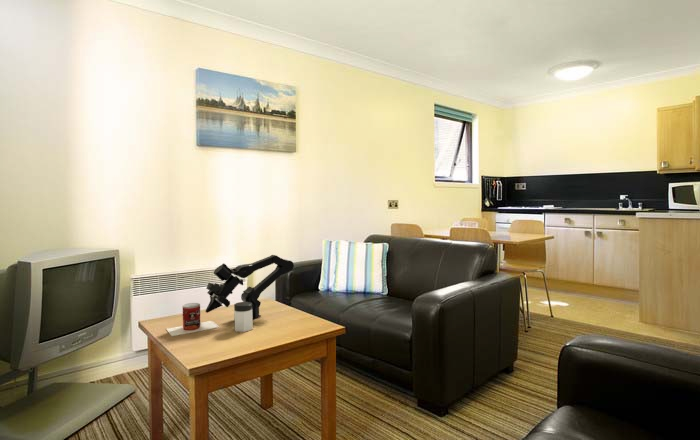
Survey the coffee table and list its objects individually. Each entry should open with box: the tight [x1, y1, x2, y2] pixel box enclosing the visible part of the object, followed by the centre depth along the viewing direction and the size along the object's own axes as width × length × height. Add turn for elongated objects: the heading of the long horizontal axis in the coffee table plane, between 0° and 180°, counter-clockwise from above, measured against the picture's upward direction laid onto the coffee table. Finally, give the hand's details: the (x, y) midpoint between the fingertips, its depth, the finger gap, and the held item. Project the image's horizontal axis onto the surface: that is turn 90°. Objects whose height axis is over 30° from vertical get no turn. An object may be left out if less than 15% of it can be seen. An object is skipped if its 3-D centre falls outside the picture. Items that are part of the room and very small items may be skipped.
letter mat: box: [165, 320, 220, 337], centre depth 181 cm, size 21×12×1 cm, turn 126°
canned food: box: [182, 302, 201, 330], centre depth 181 cm, size 8×8×11 cm
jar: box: [233, 301, 254, 333], centre depth 180 cm, size 9×8×12 cm
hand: (206, 312), depth 185 cm, fingers closed
